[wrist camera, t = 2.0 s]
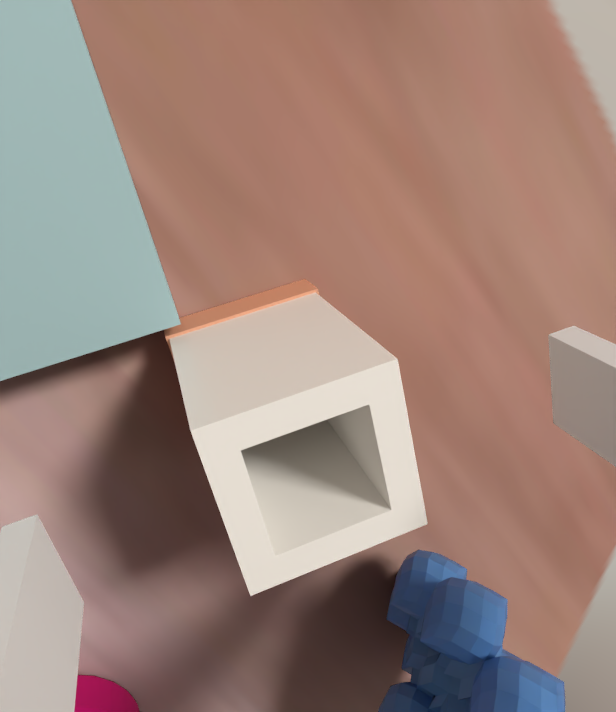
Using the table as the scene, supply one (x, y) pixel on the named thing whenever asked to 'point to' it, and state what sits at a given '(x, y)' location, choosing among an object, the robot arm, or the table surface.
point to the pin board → (66, 203)
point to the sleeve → (297, 431)
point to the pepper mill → (102, 696)
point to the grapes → (459, 646)
